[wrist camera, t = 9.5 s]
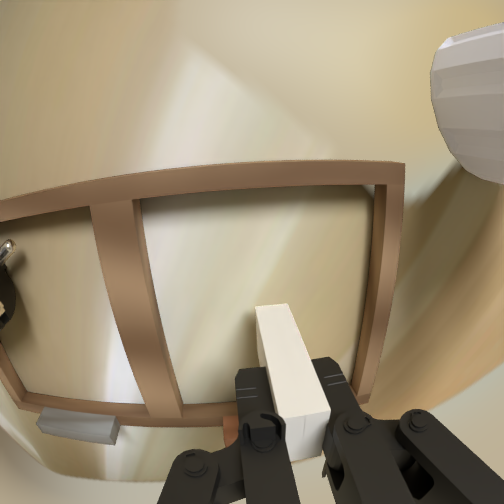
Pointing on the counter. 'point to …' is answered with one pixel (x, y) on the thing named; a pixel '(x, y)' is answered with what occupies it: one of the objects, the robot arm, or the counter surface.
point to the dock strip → (144, 299)
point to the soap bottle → (472, 99)
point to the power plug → (6, 284)
